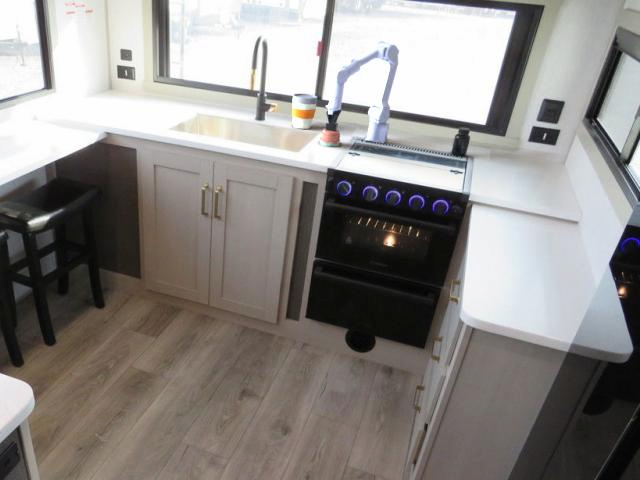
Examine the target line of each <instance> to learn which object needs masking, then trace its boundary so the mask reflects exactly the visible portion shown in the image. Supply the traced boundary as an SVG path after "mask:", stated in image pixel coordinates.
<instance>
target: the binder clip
mask: <svg viewBox="0 0 640 480" xmlns="http://www.w3.org/2000/svg"><path fill="white" fill-rule="evenodd" d="M325 128H326V130H332V131H336V130H338V128H339V123H338V122H336V123H335V124H334V127H333V128H330V127H329V126H328V121H327V122H326V123H325Z"/></svg>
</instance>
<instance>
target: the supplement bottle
mask: <svg viewBox="0 0 640 480" xmlns="http://www.w3.org/2000/svg"><path fill="white" fill-rule="evenodd" d="M470 131H471V129H470V128H468V127H459V128H458V130H457V132H458V133H456V134H455V135H454V138H453V143H452V147H451V151H450V153H451V155H453V156H456V157H465V156H466V155H467V153H468V149H469V144H470V141H471V136H470V135H469V134H470Z"/></svg>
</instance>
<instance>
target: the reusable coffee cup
mask: <svg viewBox="0 0 640 480" xmlns="http://www.w3.org/2000/svg"><path fill="white" fill-rule="evenodd" d="M317 104H318V96H317V95H315V94H309V93H294V94H292V106H291V116H292V126H293V127H294V128H298V129H304V130H305V129H310V128H311V127H312V122H313V119H314V117H315V114H316V110H317V109H316V107H317Z"/></svg>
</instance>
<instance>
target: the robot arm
mask: <svg viewBox="0 0 640 480" xmlns="http://www.w3.org/2000/svg"><path fill="white" fill-rule="evenodd" d="M399 53H400V50H399V48H398V47H397V45H395V44H391V43H387V42H385V41H378V42H377V43H376V44H374V45H373V46H372V47H371V48H370V49H369V50H368V51H366V52H364V54H362V55H361V56H360V57H358V58H357V59H356V58H350V59H348V61H347V62H346V63H344V64H343V65H342V64H341V65H340V66H339V67H335V68H334V69H332V71H331V73H330V74H329V78H330V91H329V100H328V101H329V102H328V104H326V105H325V108H327V109H328V110H327V111H326V112H325V113H326V117H327V122H328V126H329V127H330V128H333V127H334V124H335V123H338V120H339V117H340V115H341V113H342V102H343V96H344V88H345V83H346V82H347V81H348V79H349V78H350V77H351V76H353V75H355V74H356V73H357V72H359V71H360V70H361V67H363V66H364V65H366V64H368V63H370V62H371V61H373V60H374V59H380V60H381V61H382V62H383V64H384V69H383V72H382V76H381V80H380V84H379V88H378V92H377V95H376V96H377V97H376V99H375V100H374V101H373V102H372V103H371V106H370V107H369V109H368V111H367V115H368V117H369V124H368V130H367V136H366V137H365V139H364V141H368V142H373V143H378V144H386V143H385V142H386V141H387V140H388V134H389V130H390V123H388V121H389V119H390V116H391V114H390V113H391V112H390V111H391V106H390V103H389V99H390V96H391V91H392V87H393V85H394V80H395V77H396V73H397V70H398V65H399Z"/></svg>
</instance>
